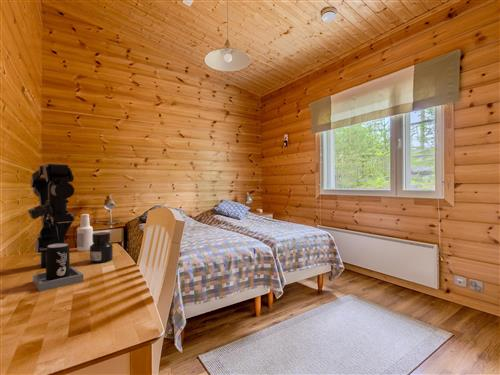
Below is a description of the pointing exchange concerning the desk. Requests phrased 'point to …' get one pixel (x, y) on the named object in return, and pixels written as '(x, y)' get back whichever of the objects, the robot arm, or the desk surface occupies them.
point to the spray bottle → (84, 234)
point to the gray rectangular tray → (57, 280)
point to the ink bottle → (101, 248)
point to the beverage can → (57, 261)
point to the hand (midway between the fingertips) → (57, 238)
